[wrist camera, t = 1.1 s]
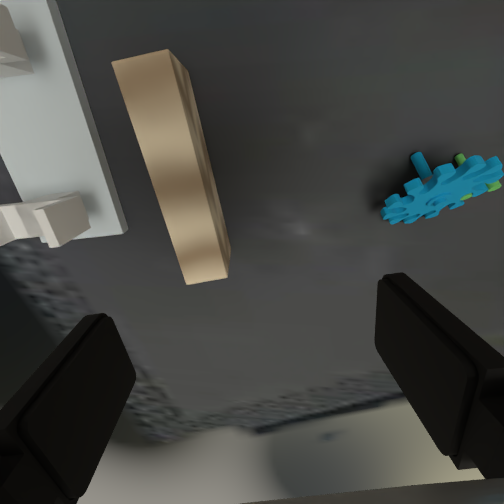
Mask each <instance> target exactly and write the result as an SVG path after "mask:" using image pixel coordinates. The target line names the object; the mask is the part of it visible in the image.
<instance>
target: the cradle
mask: <svg viewBox="0 0 504 504" xmlns="http://www.w3.org/2000/svg"><path fill="white" fill-rule="evenodd" d="M0 154H1V156H2V158H3V160H4V163H5V165H6V167H7V169H8V171H9V173H10V175H11V177H12V180H13V182H14V184H15V186H16V188H17V190H18V192H19V194H20V197H21V199H22V201H23V202H21V203H13V204H4V205H0V246H2V245H4V244H6V243H8V242H11V241H13V240H15V239H22V238H31V237H40V239H41V241H42V243H45V242H47V243H48V245H49V247H50V248H52V247H60V246H62V245H63V244H65V243H67V242H68V241H70V240H72V239H81V238H90V237H99V236H108V235H117V234H124V233H125V232H126V231H127V230H128V225H127V222H126V219H125V216H124V213H123V210H122V207H121V203H120V200H119V197H118V194H117V191H116V188H115V185H114V181H113V178H112V175H111V172H110V169H109V166H108V163H107V159H106V156H105V153H104V150H103V147H102V144H101V140H100V137H99V134H98V131H97V128H96V125H95V122H94V118H93V115H92V112H91V109H90V106H89V103H88V100H87V96H86V93H85V90H84V87H83V84H82V81H81V78H80V74H79V71H78V68H77V65H76V62H75V59H74V56H73V52H72V49H71V46H70V43H69V40H68V37H67V33H66V30H65V27H64V24H63V21H62V18H61V15H60V11H59V8H58V5H57V2H56V1H55V0H0Z"/></svg>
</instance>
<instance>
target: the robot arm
mask: <svg viewBox="0 0 504 504" xmlns="http://www.w3.org/2000/svg"><path fill="white" fill-rule="evenodd" d="M375 346H376V349H377V351H378V353H379V355H380V356H381V358H382V360H383V361H384V363H385V364H386V366H387V368H388V369H389V371H390V372H391V374H392V376H393V377H394V379H395V380H396V382H397V384H398V385H399V387H400V388H401V390H402V392H403V393H404V395H405V396H406V398H407V400H408V401H409V403H410V404H411V406H412V408H413V409H414V411H415V412H416V414H417V416H418V417H419V419H420V420H421V422H422V423H423V425H424V427H425V428H426V430H427V431H428V433H429V435H430V436H431V438H432V440H433V441H434V443H435V444H436V446H437V448H438V449H439V450H440V452H441V453H442V454H443V455H445V456H449V457H450V458H451V460H452V461H453V463H454V464H455V466H456V468H457V469H458V470H461V469H470V468H478V469H479V471H480V472H481V474H482V475H483V476H484V478H485V479H482V480H470V481H459V482H447V483H434V484H423V485H411V486H402V487H393V488H383V489H373V490H365V491H354V492H345V493H335V494H325V495H316V496H306V497H297V498H287V499H278V500H269V501H260V502H251V503H242V504H504V357H503V356H502V355H501V354H500V353H499V352H497V351H496V350H495V349H494V348H493V347H491V346H490V345H489V344H488V343H487V342H486V341H484V340H483V339H482V338H481V337H480V336H478V335H477V334H476V333H475V332H474V331H472V330H471V329H470V328H469V327H468V326H467V325H465V324H464V323H463V322H462V321H461V320H459V319H458V318H457V317H456V316H455V315H453V314H452V313H451V312H450V311H449V310H448V309H446V308H445V307H444V306H443V305H442V304H440V303H439V302H438V301H437V300H436V299H434V298H433V297H432V296H431V295H430V294H428V293H427V292H426V291H425V290H424V289H423V288H421V287H420V286H419V285H418V284H417V283H415V282H414V281H413V280H412V279H411V278H409V277H408V276H407V275H406V274H405V273H394V274H386V275H384V276H383V278H382V279H381V280H379V281H378V288H377V306H376V324H375ZM135 380H136V372H135V369H134V367H133V365H132V363H131V360H130V358H129V356H128V353H127V351H126V349H125V346H124V344H123V342H122V340H121V337H120V335H119V333H118V330H117V328H116V326H115V323H114V321H113V319H112V318H111V317H108V316H107V315H106V314H104V313H100V314H93V315H87V316H85V317H84V318H83V319H82V320H81V321H80V322H79V323H78V324H77V325H76V326H75V328H74V329H73V330H72V331H71V332H70V333H69V334H68V335H67V336H66V338H65V339H64V340H63V341H62V342H61V343H60V344H59V345H58V346H57V348H56V349H55V350H54V351H53V352H52V353H51V354H50V355H49V356H48V358H47V359H46V360H45V361H44V362H43V363H42V364H41V365H40V367H39V368H38V369H37V370H36V371H35V372H34V373H33V375H31V377H30V378H29V379H28V380H27V381H26V382H25V383H24V384H23V385H22V387H21V388H20V389H19V390H18V391H17V392H16V393H15V395H13V397H12V398H11V399H10V400H9V401H8V402H7V403H6V404H5V405H4V407H3V408H2V409H1V410H0V504H76V503H77V501H78V499H79V497H81V496H83V495H84V493H85V492H86V490H87V488H88V486H89V484H90V482H91V479H92V477H93V475H94V473H95V470H96V468H97V466H98V464H99V461H100V459H101V457H102V454H103V453H104V450H105V448H106V446H107V444H108V441H109V439H110V437H111V435H112V433H113V430H114V428H115V426H116V424H117V421H118V419H119V417H120V415H121V412H122V410H123V408H124V406H125V404H126V401H127V399H128V397H129V395H130V392H131V390H132V388H133V386H134V383H135Z"/></svg>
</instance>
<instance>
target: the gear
mask: <svg viewBox="0 0 504 504" xmlns="http://www.w3.org/2000/svg"><path fill="white" fill-rule="evenodd" d="M411 160H412V162H413V164H414V166H415V168H416V170H417V172H418V174H419V176H420V178H421V180H422V181H421V180H420V178H416V179H413V180H411V181H409V182H407V183H405V184H404V188H405V190H406V192H407V194H408V196H406V197H403V198H400V196H399V194H393V195H391V196H390V197H389V198H387V199H386V200H385V204H386V206H387V207H384V208H383V209H382V210H381V212H380V213H381V216H382V218H383V219H388V220H389V222H390V224H395V223H397V222H399V221H401V220H403V222H404V223H412V222H414V221H416V220H417V219H418V218H419V217H421V216H422V215H424V216H425V218H426V219H427V218H432V217H435V216H437V215H438V214H439V211H440V210H441V209H442V208H444V207H445V206H446V205H448V206H449V208H450V209H454V208H457V207H459V206H462V205H464V201H463V200H465V199H468V198H470V197H471V196H472V197H476V196H478V195H480V194H482V193H484V192H486V191H488V192H490V191H494V190H496V189H498V188H500V187H501V184H500V183H499V181H498V180H499V179H500V178H501V177H502V176H503V175H504V173H503V172H502V170H501V169H502V163H501V162H500V160H499V159H498V157H497V156H495V157H492V158H490V159H488V160H486V161H485V162H484V160H483V159H482V157H481V156H471V157H470V158H468V159H467V160H466V159H465V157H464V155H463V154H458V155H457V156H455V160H456V162H457V164H458V165H459V167H458V168H457V169H454V167H453V165H452V163H449V164H444V165H441V166H438V167H436V168H435V169H434V171H433V173H434V174H432V172H431V170H430V168H429V166H428V164H427V162H426V160H425V158H424V157H423V155H422V153H421V152H417V153H415V154H413V155H412V156H411Z"/></svg>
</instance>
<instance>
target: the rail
mask: <svg viewBox="0 0 504 504" xmlns="http://www.w3.org/2000/svg"><path fill="white" fill-rule="evenodd" d="M111 63H112V66H113V69H114V71H115V74H116V77H117V80H118V83H119V86H120V89H121V92H122V95H123V98H124V101H125V104H126V107H127V110H128V113H129V116H130V119H131V122H132V125H133V128H134V131H135V134H136V137H137V139H138V142H139V145H140V148H141V151H142V154H143V157H144V160H145V163H146V166H147V169H148V172H149V175H150V178H151V181H152V184H153V187H154V190H155V193H156V196H157V199H158V202H159V205H160V208H161V210H162V213H163V216H164V219H165V222H166V225H167V228H168V231H169V234H170V237H171V240H172V243H173V246H174V249H175V252H176V255H177V258H178V261H179V264H180V267H181V270H182V273H183V276H184V278H185V281H186V284H187V285H189V284H195V283H200V282H206V281H212V280H217V279H223V278H227V277H228V269H229V261H230V254H231V247H230V243H229V238H228V234H227V230H226V226H225V222H224V218H223V214H222V209H221V205H220V201H219V197H218V193H217V189H216V185H215V180H214V176H213V172H212V168H211V164H210V160H209V156H208V151H207V147H206V143H205V139H204V135H203V131H202V127H201V122H200V118H199V114H198V110H197V106H196V102H195V98H194V93H193V89H192V85H191V81H190V77H189V73H188V70H187V69H186V68H185V67H184V66H183V65H182V64H181V63H180V62H179V61H178V60H177V58H176V57H175V56H174V55H173V54H172V53H171V52H170V51H169V50H168V49H166V50H161V51H157V52H153V53H148V54H144V55H140V56H135V57H131V58H126V59H122V60H118V61H113V62H111Z"/></svg>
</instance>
